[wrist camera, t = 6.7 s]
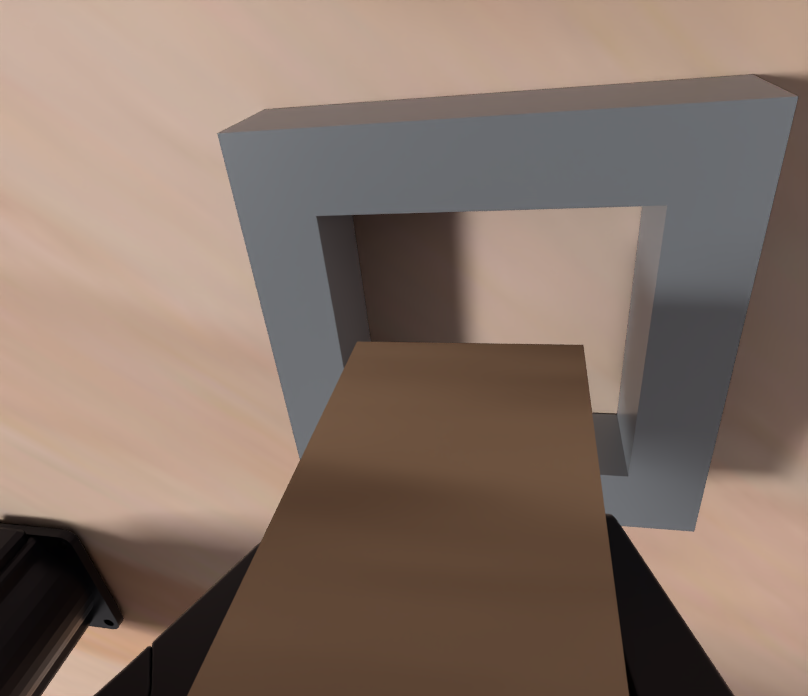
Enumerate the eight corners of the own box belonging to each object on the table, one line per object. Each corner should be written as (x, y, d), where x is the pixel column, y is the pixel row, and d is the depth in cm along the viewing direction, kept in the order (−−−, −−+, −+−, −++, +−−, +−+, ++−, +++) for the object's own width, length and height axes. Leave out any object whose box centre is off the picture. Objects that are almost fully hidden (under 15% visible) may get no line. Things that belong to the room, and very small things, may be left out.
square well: (675, 464, 17) (694, 531, 15) (334, 445, 20) (310, 501, 18) (752, 74, 12) (798, 96, 10) (264, 109, 14) (217, 133, 12)
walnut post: (570, 509, 12) (604, 1008, 6) (382, 496, 13) (257, 925, 7) (583, 345, 10) (651, 863, 4) (357, 341, 11) (151, 770, 5)
